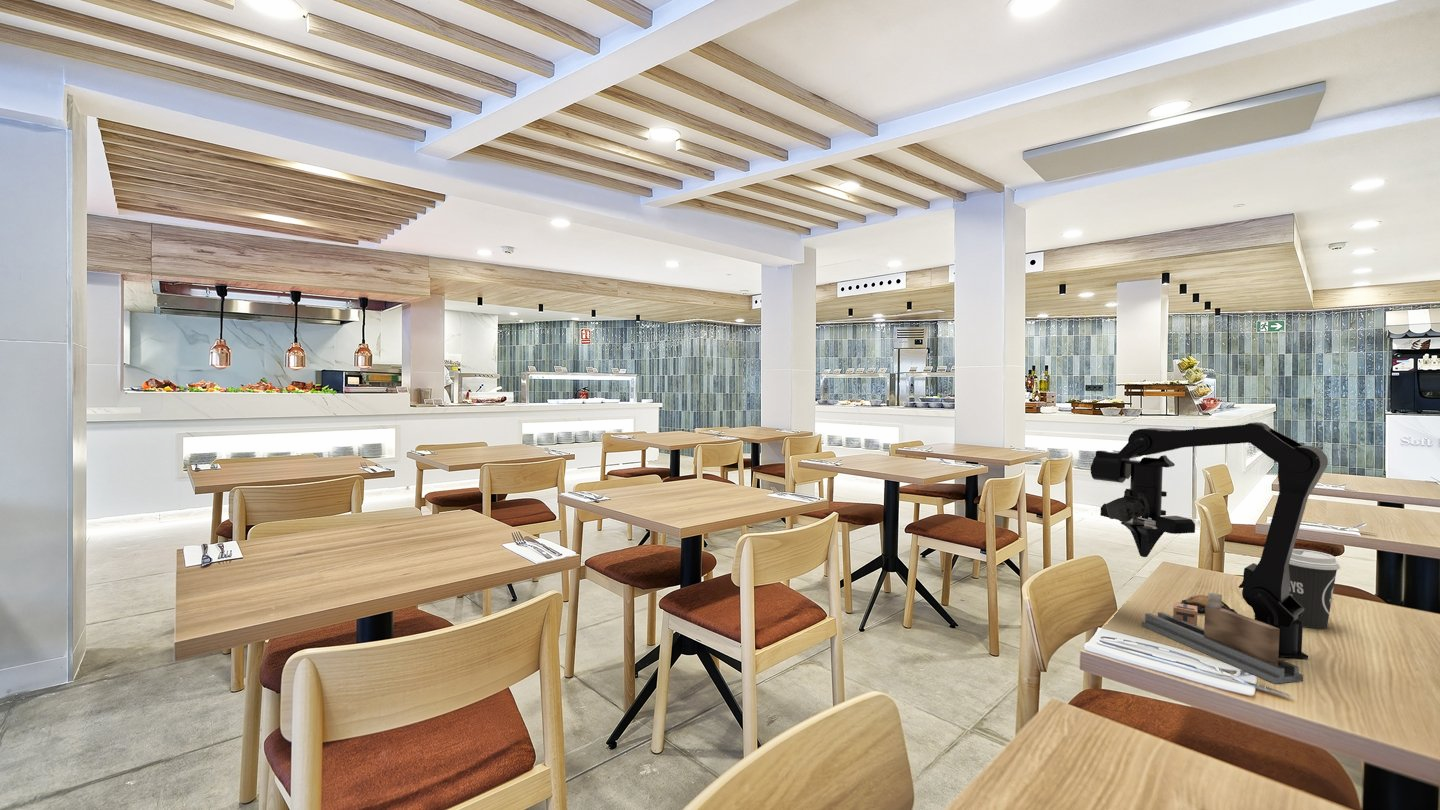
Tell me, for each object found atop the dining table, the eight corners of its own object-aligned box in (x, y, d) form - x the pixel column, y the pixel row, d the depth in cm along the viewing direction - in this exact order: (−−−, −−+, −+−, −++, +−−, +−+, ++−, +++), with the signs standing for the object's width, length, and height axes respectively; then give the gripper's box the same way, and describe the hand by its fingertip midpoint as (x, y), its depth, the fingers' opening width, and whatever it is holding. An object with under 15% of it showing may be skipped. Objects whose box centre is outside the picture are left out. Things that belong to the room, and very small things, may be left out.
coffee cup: (1294, 612, 139) (1296, 546, 139) (1348, 628, 130) (1351, 557, 130) (1265, 617, 136) (1268, 549, 136) (1319, 634, 127) (1322, 561, 127)
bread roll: (1190, 617, 138) (1190, 601, 138) (1173, 604, 146) (1173, 588, 146) (1247, 622, 135) (1247, 605, 135) (1226, 608, 143) (1227, 593, 143)
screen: (1203, 641, 120) (1204, 592, 120) (1211, 640, 120) (1213, 592, 120) (1269, 669, 108) (1271, 615, 108) (1278, 668, 109) (1281, 614, 108)
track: (1141, 625, 131) (1141, 613, 131) (1165, 623, 132) (1165, 611, 132) (1275, 683, 106) (1275, 669, 106) (1302, 680, 107) (1303, 666, 107)
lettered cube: (1172, 620, 134) (1173, 601, 134) (1196, 624, 132) (1197, 605, 132) (1172, 626, 131) (1173, 607, 131) (1196, 631, 129) (1197, 611, 129)
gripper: (1081, 480, 143) (1079, 547, 144) (1153, 494, 125) (1150, 571, 126) (1121, 479, 146) (1119, 545, 146) (1198, 492, 128) (1195, 568, 128)
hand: (1143, 556), depth 137 cm, fingers closed
